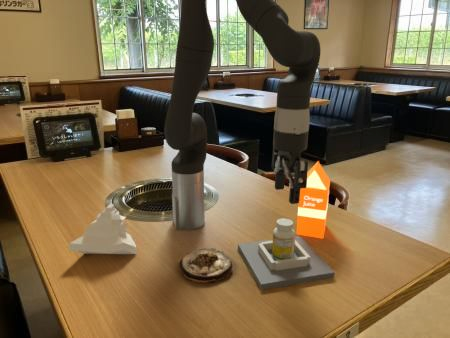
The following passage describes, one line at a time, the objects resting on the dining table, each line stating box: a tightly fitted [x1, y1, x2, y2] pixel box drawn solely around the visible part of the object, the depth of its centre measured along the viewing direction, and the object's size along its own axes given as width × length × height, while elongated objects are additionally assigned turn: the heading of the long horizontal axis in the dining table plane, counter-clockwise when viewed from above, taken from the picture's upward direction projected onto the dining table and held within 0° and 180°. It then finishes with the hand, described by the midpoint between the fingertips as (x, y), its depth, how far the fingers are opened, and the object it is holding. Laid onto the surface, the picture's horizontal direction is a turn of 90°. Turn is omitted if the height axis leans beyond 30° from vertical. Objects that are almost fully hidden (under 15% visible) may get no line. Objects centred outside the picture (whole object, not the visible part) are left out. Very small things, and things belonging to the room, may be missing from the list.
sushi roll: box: [179, 248, 233, 284], centre depth 89 cm, size 15×15×4 cm
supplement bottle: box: [272, 217, 296, 261], centre depth 90 cm, size 5×5×10 cm
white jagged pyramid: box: [68, 202, 138, 255], centre depth 96 cm, size 12×15×14 cm
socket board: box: [237, 235, 335, 291], centre depth 91 cm, size 18×18×4 cm
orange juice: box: [295, 161, 331, 239], centre depth 105 cm, size 8×9×20 cm
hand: (286, 195), depth 86 cm, fingers open, 8 cm apart
